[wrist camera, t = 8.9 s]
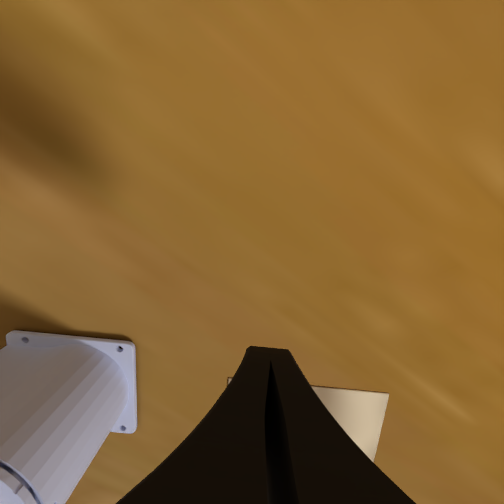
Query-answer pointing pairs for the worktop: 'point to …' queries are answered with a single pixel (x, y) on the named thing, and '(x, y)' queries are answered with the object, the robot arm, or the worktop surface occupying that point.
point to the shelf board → (356, 414)
